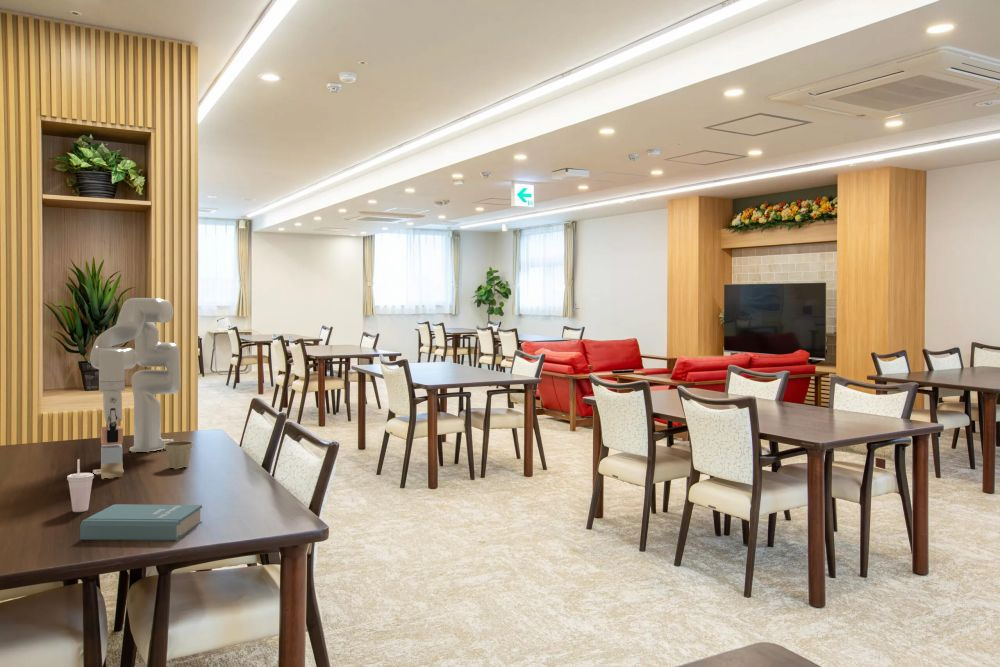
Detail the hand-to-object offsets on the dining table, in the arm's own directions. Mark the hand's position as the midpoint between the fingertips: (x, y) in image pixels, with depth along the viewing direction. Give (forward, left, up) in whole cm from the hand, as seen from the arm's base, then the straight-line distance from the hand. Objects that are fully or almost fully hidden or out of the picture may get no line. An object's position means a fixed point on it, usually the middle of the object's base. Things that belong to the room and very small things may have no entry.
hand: (111, 440), depth 242 cm
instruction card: (+1, -8, -12) cm, 15 cm away
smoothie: (+10, +43, -12) cm, 45 cm away
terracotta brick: (0, 0, -1) cm, 1 cm away
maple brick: (0, 0, -12) cm, 12 cm away
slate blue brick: (0, 0, -7) cm, 7 cm away
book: (-3, +72, -13) cm, 73 cm away
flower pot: (-21, -4, -12) cm, 25 cm away
